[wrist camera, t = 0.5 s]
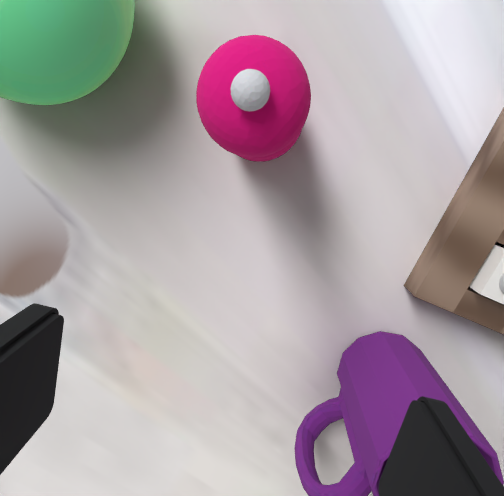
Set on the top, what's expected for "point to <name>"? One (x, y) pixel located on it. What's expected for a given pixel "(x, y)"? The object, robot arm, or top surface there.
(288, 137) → the pepper mill
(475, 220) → the button board
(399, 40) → the top surface
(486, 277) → the button
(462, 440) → the robot arm
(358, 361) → the mug
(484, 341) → the top surface
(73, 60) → the toy bird
